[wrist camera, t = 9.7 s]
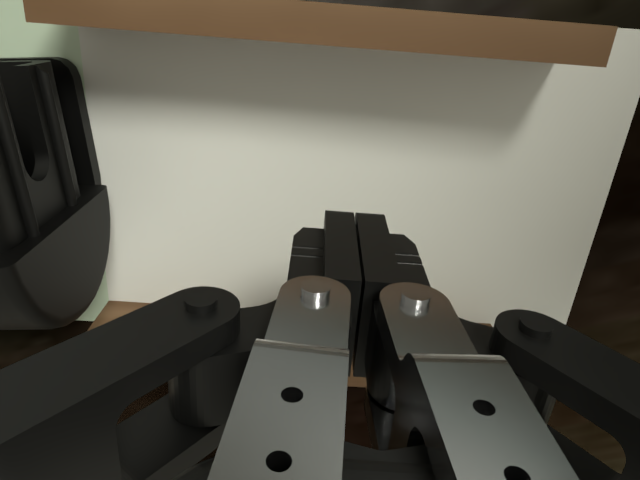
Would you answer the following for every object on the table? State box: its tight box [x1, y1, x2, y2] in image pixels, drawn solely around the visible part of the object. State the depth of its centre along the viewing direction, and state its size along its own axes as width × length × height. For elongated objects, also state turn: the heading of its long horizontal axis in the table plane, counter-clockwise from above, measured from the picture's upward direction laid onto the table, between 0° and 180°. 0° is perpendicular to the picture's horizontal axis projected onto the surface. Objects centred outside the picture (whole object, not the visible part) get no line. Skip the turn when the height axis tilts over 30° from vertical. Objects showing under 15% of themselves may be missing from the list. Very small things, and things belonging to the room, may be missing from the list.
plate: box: [0, 0, 640, 327], centre depth 18 cm, size 12×32×1 cm, turn 86°
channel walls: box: [23, 0, 618, 387], centre depth 17 cm, size 12×15×3 cm
